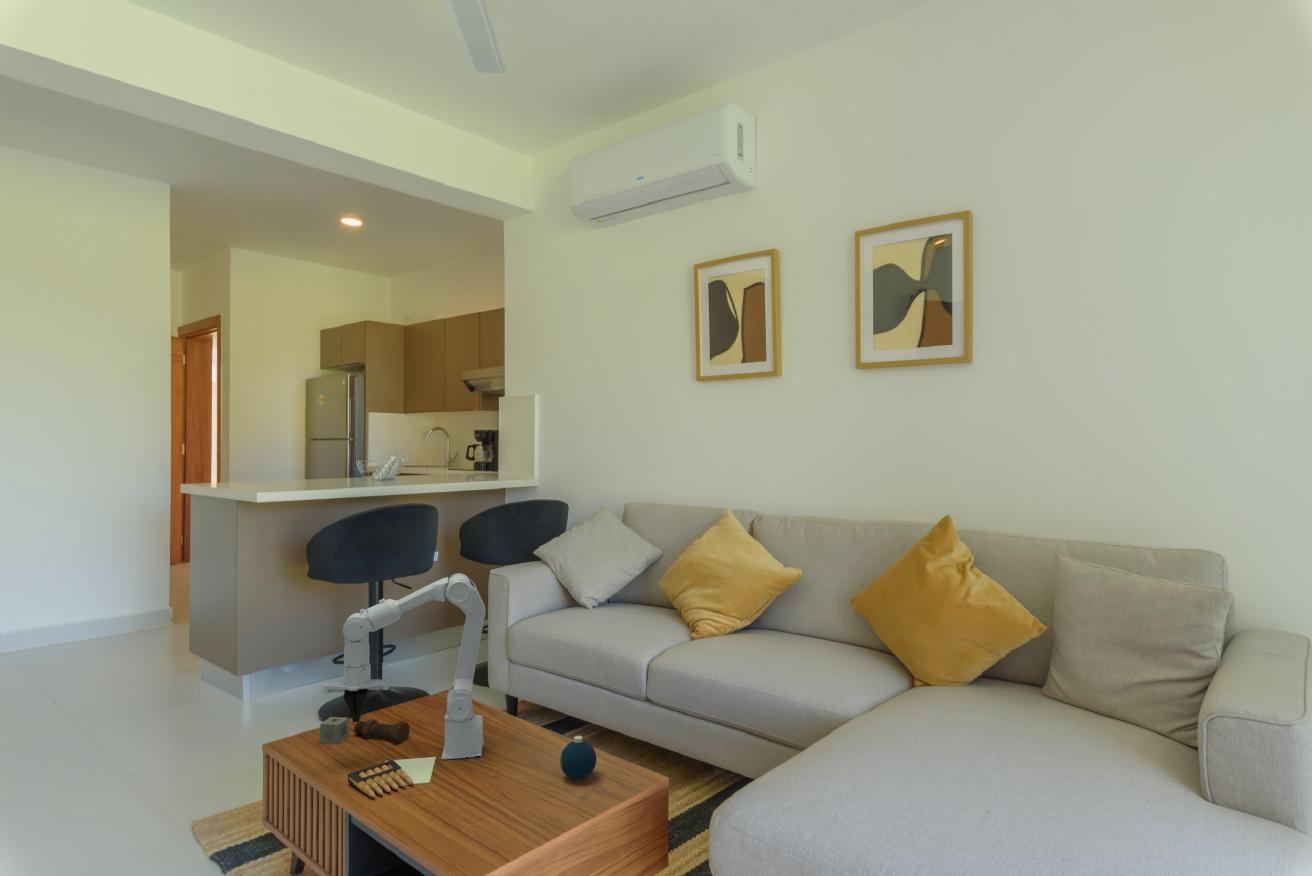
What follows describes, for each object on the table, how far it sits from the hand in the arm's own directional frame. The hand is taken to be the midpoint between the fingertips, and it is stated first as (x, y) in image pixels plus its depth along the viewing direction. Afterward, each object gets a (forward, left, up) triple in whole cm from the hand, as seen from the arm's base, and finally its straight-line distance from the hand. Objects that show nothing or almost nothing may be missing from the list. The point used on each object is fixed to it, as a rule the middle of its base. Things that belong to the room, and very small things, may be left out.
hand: (356, 720), depth 178 cm
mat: (-12, +7, -10) cm, 18 cm away
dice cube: (+9, -17, -11) cm, 22 cm away
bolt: (-3, -16, -11) cm, 20 cm away
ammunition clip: (-4, +8, -9) cm, 13 cm away
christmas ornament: (-52, +18, -11) cm, 56 cm away
